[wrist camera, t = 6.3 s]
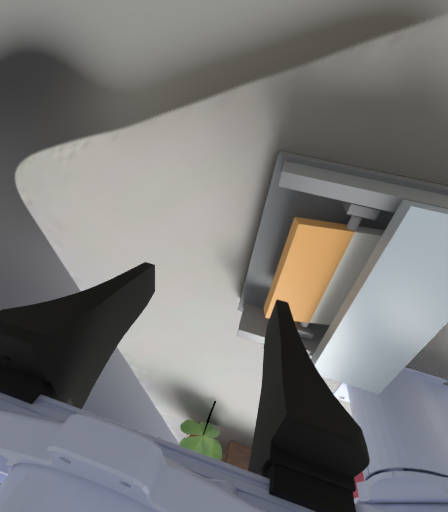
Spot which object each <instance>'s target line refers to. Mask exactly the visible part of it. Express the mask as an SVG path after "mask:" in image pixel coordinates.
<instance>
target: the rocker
mask: <svg viewBox="0 0 448 512" xmlns="http://www.w3.org/2000/svg"><path fill="white" fill-rule="evenodd" d="M361 220H362V217H358V216H354V215H352V216H351V218H350V220H349V222H348V224H347V225H346V224H340V223H333V222H326V221H319V220H312V219H306V218H299V217H294V220H293V223H292V226H291V229H290V232H289V235H288V238H287V241H286V244H285V246H284V249H283V252H282V255H281V258H280V261H279V264H278V267H277V270H276V273H275V276H274V279H273V282H272V285H271V288H270V291H269V294H268V297H267V299H266V302H265V305H264V314H265V318H270V316H271V313H272V310H273V308H274V305H275V302H276V300H277V299H278V300H281V301H285V302H288V304H289V306H290V310H291V313H292V316H293V319H294V321H298V322H301V323H300V324H301V326H302V327H305V328H306V327H308V325H309V323H316V324H325V325H331V323H332V321H333V320H334V318H335V316H336V314H337V313H338V311H339V309H340V308H341V306H342V304H343V302H344V301H345V299H346V297H347V295H348V294H349V292H350V290H351V288H352V287H353V285H354V283H355V282H356V280H357V278H358V276H359V275H360V273H361V271H362V269H363V268H364V266H365V264H366V263H367V261H368V259H369V257H370V256H371V254H372V252H373V250H374V249H375V247H376V245H377V244H378V242H379V240H380V238H381V237H382V235H383V233H384V231H385V230H380V229H374V228H367V227H360V226H359V224H360V222H361Z"/></svg>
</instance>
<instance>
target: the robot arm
mask: <svg viewBox="0 0 448 512" xmlns="http://www.w3.org/2000/svg"><path fill="white" fill-rule="evenodd" d="M154 292H155V265H153V264H150V263H146V262H145V263H143V264H141V265H139V266H137V267H135V268H133V269H131V270H129V271H127V272H125V273H123V274H121V275H119V276H117V277H115V278H113V279H111V280H108V281H106V282H104V283H102V284H99V285H97V286H95V287H92V288H90V289H87V290H84V291H81V292H79V293H76V294H72V295H69V296H66V297H62V298H59V299H55V300H51V301H47V302H43V303H38V304H34V305H28V306H22V307H16V308H10V309H3V310H1V311H0V483H1V485H0V512H448V385H444V384H443V383H445V382H448V380H447V379H443V378H440V377H436V376H433V375H430V374H426V373H423V372H420V371H416V370H413V369H410V368H406V367H405V368H404V369H403V370H402V371H401V372H400V373H399V374H398V375H397V376H396V377H395V378H394V379H393V380H392V381H391V382H390V383H389V384H388V385H387V386H386V387H385V388H384V389H383V391H382V392H381V393H380V394H376V393H373V392H369V391H366V390H363V389H360V388H357V387H353V386H350V385H347V384H344V383H341V384H340V386H339V387H338V388H337V390H336V391H335V392H334V393H332V392H331V390H330V389H329V387H328V386H327V384H326V383H325V382H324V380H323V379H322V377H321V375H320V374H319V372H318V371H317V369H316V367H315V366H314V364H313V362H312V360H311V358H310V356H309V355H308V353H307V351H306V348H305V346H304V344H303V342H302V340H301V338H300V335H299V333H298V330H297V328H296V325H295V322H294V319H293V316H292V313H291V310H290V306H289V304H288V302H285V301H281V300H278V299H277V300H276V302H275V305H274V308H273V310H272V313H271V316H270V319H269V321H268V324H267V329H266V335H265V341H264V358H263V377H262V388H261V395H260V402H259V408H258V415H257V421H256V427H255V433H254V439H253V445H252V450H251V456H250V461H249V467H248V471H247V470H244V469H241V468H239V467H236V466H233V465H231V464H228V463H225V462H222V461H220V460H217V459H214V458H212V457H209V456H206V455H204V454H201V453H198V452H195V451H193V450H190V449H187V448H185V447H182V446H179V445H176V444H174V443H171V442H168V441H166V440H163V439H160V438H158V437H155V436H152V435H149V434H146V433H144V432H141V431H139V430H136V429H133V428H131V427H128V426H125V425H122V424H120V423H117V422H114V421H112V420H109V419H106V418H104V417H101V416H98V415H95V414H93V413H90V412H87V411H84V410H82V407H83V405H84V404H85V402H86V400H87V397H88V396H89V394H90V392H91V390H92V388H93V386H94V384H95V383H96V380H97V379H98V377H99V375H100V373H101V372H102V370H103V368H104V367H105V365H106V363H107V362H108V360H109V358H110V356H111V355H112V353H113V351H114V350H115V348H116V347H117V345H118V343H119V342H120V340H121V339H122V338H123V336H124V335H125V333H126V332H127V331H128V330H129V328H130V327H131V326H132V324H133V323H134V322H135V320H136V319H137V318H138V317H139V315H140V314H141V313H142V311H143V310H144V309H145V307H146V306H147V304H148V303H149V301H150V299H151V297H152V296H153V294H154ZM340 396H343V397H344V398H340ZM337 399H340V400H343V401H347V402H350V406H351V412H352V417H353V418H352V417H351V416H350V414H349V413H348V412H347V411H346V410H345V409H344V407H343V406H342V405H341V404H340V402H339V401H338V400H337ZM362 471H363V476H364V481H363V482H357V489H358V495H359V497H358V498H355V499H354V496H353V492H355V491H356V485H355V479H354V477H356V476H357V475H358V474H360V473H361V472H362Z"/></svg>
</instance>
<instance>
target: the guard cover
mask: <svg viewBox="0 0 448 512" xmlns="http://www.w3.org/2000/svg"><path fill="white" fill-rule="evenodd" d="M447 323H448V209H445V208H440V207H436V206H431V205H426V204H422V203H417V202H413V201H408V200H404V199H403V200H402V202H401V204H400V206H399V207H398V209H397V211H396V212H395V214H394V216H393V218H392V219H391V221H390V223H389V225H388V226H387V228H386V230H385V231H384V233H383V235H382V237H381V238H380V240H379V242H378V244H377V245H376V247H375V249H374V250H373V252H372V254H371V256H370V257H369V259H368V261H367V263H366V264H365V266H364V268H363V269H362V271H361V273H360V275H359V276H358V278H357V280H356V282H355V283H354V285H353V287H352V288H351V290H350V292H349V294H348V295H347V297H346V299H345V301H344V302H343V304H342V306H341V308H340V309H339V311H338V313H337V314H336V316H335V318H334V320H333V321H332V323H331V325H330V327H329V328H328V330H327V332H326V333H325V335H324V337H323V339H322V340H321V342H320V344H319V346H318V347H317V349H316V351H315V352H314V354H313V356H312V358H311V360H312V362H313V364H314V366H315V367H316V369H317V371H318V372H319V374H320V375H321V376H322V377H325V378H328V379H331V380H334V381H338V382H341V383H344V384H347V385H350V386H353V387H357V388H360V389H363V390H366V391H369V392H373V393H376V394H380V393H381V392H382V391H383V389H384V388H385V387H386V386H387V385H388V384H389V383H390V382H391V381H392V380H393V379H394V378H395V377H396V376H397V375H398V374H399V373H400V372H401V371H402V370H403V369H404V368H405V366H406V365H407V364H408V363H409V362H410V361H411V360H412V359H413V358H414V357H415V356H416V355H417V354H418V353H419V352H420V351H421V350H422V349H423V348H424V347H425V346H426V345H427V343H428V342H429V341H430V340H431V339H432V338H433V337H434V336H435V335H436V334H437V333H438V332H439V331H440V330H441V329H442V328H443V327H444V326H445V325H446V324H447Z"/></svg>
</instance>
